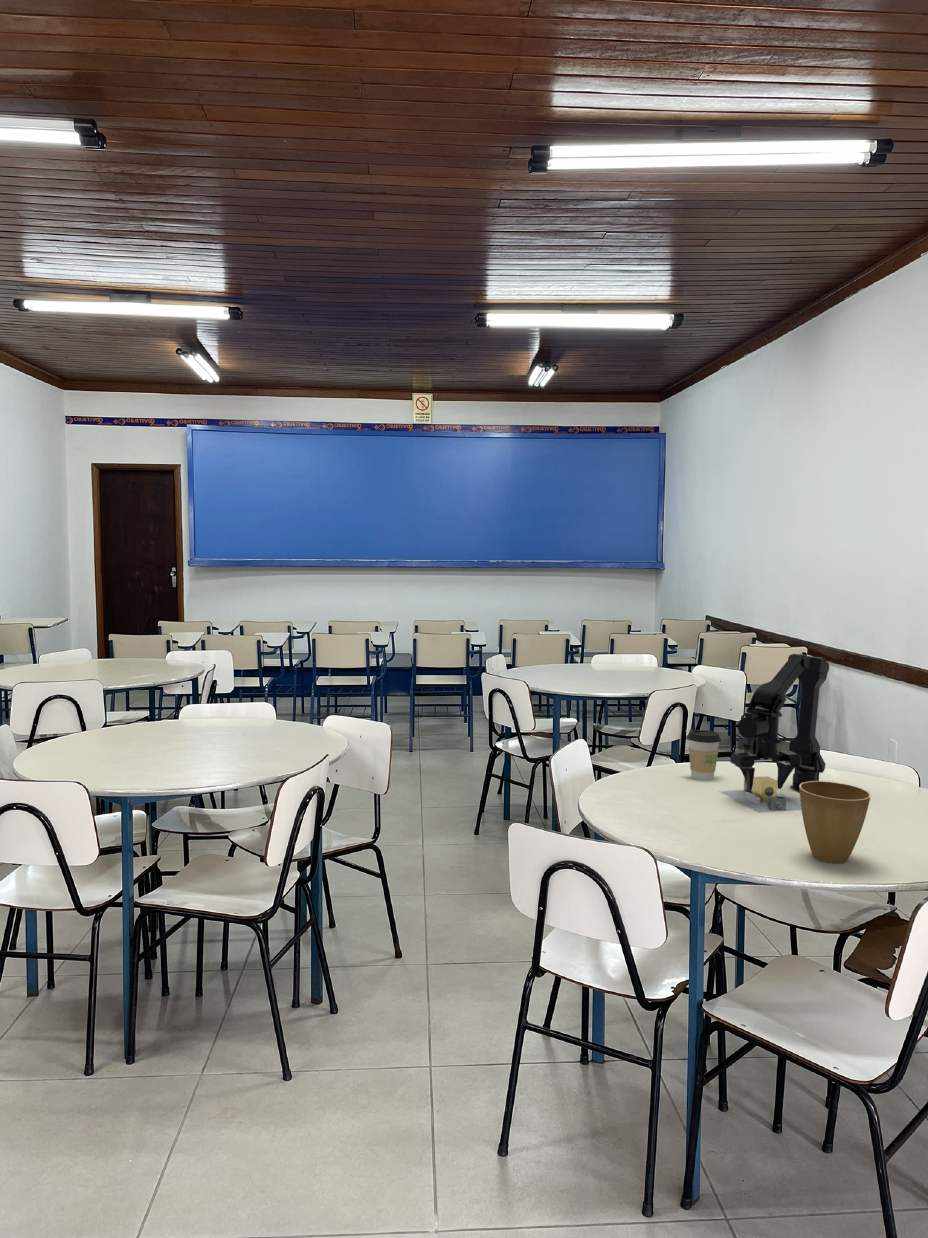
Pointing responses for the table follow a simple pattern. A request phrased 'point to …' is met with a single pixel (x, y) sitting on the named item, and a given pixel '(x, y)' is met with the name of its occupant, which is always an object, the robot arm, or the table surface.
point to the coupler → (764, 787)
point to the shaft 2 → (776, 803)
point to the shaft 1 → (747, 788)
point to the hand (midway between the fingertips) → (764, 789)
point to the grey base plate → (755, 803)
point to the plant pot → (832, 818)
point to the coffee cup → (703, 753)
